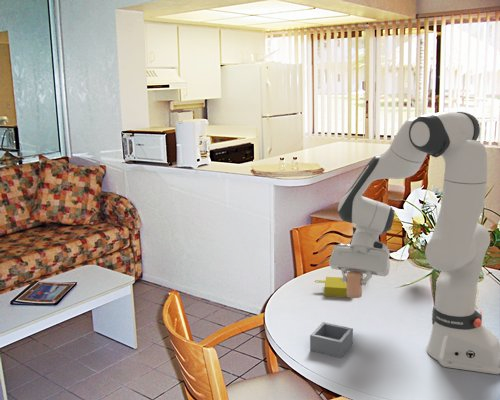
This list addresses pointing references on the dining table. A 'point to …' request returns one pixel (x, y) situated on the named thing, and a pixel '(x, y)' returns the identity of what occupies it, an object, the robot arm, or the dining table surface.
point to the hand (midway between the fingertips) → (353, 283)
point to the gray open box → (331, 339)
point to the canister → (354, 284)
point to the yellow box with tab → (334, 287)
